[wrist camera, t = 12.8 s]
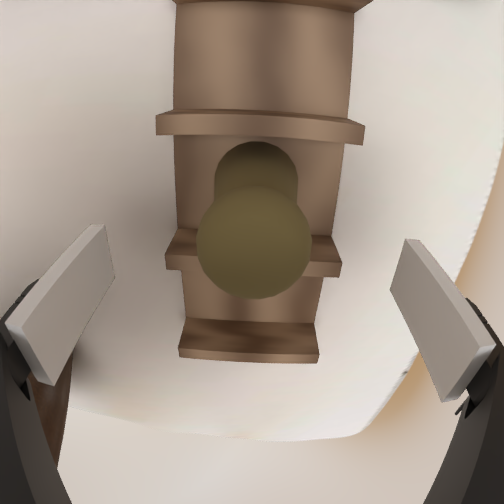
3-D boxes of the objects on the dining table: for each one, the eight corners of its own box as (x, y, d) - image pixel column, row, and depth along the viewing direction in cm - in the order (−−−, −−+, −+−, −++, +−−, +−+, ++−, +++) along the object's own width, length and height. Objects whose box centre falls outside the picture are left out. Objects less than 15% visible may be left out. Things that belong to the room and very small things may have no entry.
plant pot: (-4, 280, 29) (-74, 368, 15) (90, 313, 31) (28, 434, 17) (22, 357, 37) (-20, 436, 23) (104, 387, 38) (71, 483, 24)
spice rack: (189, 319, 30) (179, 357, 26) (181, -7, 16) (161, -28, 12) (310, 325, 30) (316, 363, 26) (350, 2, 16) (373, -16, 12)
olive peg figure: (221, 224, 24) (197, 323, 15) (207, 147, 21) (163, 204, 12) (301, 216, 24) (327, 313, 14) (294, 136, 21) (325, 185, 11)
